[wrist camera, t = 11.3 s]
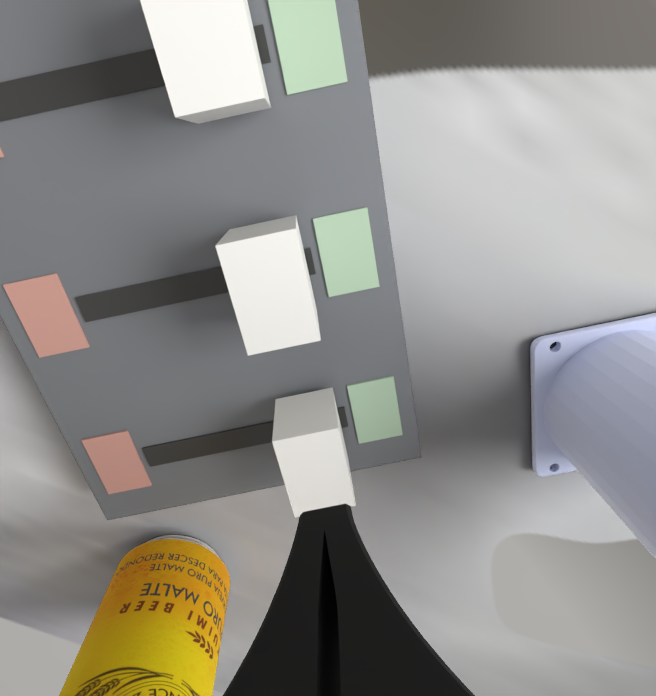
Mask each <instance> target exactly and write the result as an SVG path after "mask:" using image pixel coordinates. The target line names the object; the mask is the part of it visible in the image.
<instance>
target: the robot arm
mask: <svg viewBox="0 0 656 696" xmlns="http://www.w3.org/2000/svg"><path fill="white" fill-rule="evenodd" d="M554 342H557V343H556V346H555V347H554V348H552V349H550V345H551V344H552V343H554ZM530 357H531V418H532V468H533V471H534V472H535V473H536V474H537V475H538V476H540V477H545V476H550V475H555V474H560V473H565V472H570V471H575V470H578V471H579V472H580V473H581V475H582V476H583V477H584V478H585V479H586V480H587V481H588V483H589V484H590V485H591V486H592V487H593V488H594V489H595V491H596V492H597V493H598V494H599V495H600V496H601V497H602V498H603V500H604V501H605V502H606V503H607V504H608V505H609V506H610V508H611V509H612V510H613V511H614V512H615V513H616V514H617V515H618V517H619V518H620V519H621V520H622V521H623V522H624V523H625V525H626V526H627V527H628V528H629V529H630V530H631V531H632V533H633V534H634V535H635V536H636V537H637V538H638V539H639V540H640V542H641V543H642V544H643V545H644V546H645V547H646V548H647V549H648V551H649V552H650V553H651V554H652V555H653V556H654V558H655V559H656V313H652V314H647V315H643V316H638V317H633V318H628V319H623V320H618V321H613V322H608V323H604V324H599V325H594V326H589V327H584V328H579V329H574V330H569V331H565V332H560V333H555V334H550V335H545V336H541V337H538V338H536V339H535V340H534V341H533V342H532V344H531V348H530ZM553 464H555V465H554V466H552V467H550V466H551V465H553ZM223 696H475V695H474V694H473V693H472V692H471V691H470V690H469V689H468V688H467V687H466V686H465V685H464V684H463V683H462V682H461V680H460V679H459V678H458V677H457V676H456V675H455V674H454V673H453V672H452V671H451V670H450V668H449V667H448V666H447V665H446V664H445V662H444V661H443V660H442V659H441V658H440V657H439V655H438V654H437V653H436V652H435V651H434V649H433V648H432V647H431V646H430V645H429V644H428V642H427V641H426V640H425V639H424V638H423V636H422V635H421V634H420V632H419V631H418V630H417V628H416V627H415V626H414V624H413V623H412V622H411V620H410V619H409V618H408V616H407V615H406V614H405V612H404V611H403V609H402V608H401V607H400V605H399V604H398V602H397V601H396V599H395V598H394V596H393V595H392V593H391V592H390V590H389V588H388V587H387V585H386V584H385V582H384V580H383V579H382V577H381V576H380V574H379V572H378V570H377V569H376V567H375V565H374V563H373V561H372V560H371V558H370V556H369V554H368V552H367V550H366V548H365V546H364V544H363V542H362V540H361V538H360V535H359V533H358V531H357V528H356V526H355V523H354V520H353V516H352V511H351V507H350V506H349V505H347V504H341V505H336V506H331V507H326V508H321V509H316V510H311V511H306V512H303V513H302V514H301V515H300V518H299V523H298V527H297V531H296V535H295V538H294V542H293V545H292V549H291V552H290V555H289V558H288V561H287V564H286V567H285V569H284V572H283V575H282V578H281V581H280V583H279V586H278V588H277V591H276V593H275V595H274V598H273V600H272V603H271V605H270V607H269V610H268V612H267V614H266V617H265V619H264V621H263V623H262V625H261V627H260V629H259V632H258V634H257V636H256V638H255V640H254V641H253V643H252V645H251V647H250V649H249V651H248V653H247V655H246V657H245V658H244V660H243V662H242V664H241V666H240V667H239V669H238V671H237V673H236V675H235V676H234V678H233V680H232V681H231V683H230V685H229V687H228V688H227V690H226V691H225V693H224V695H223Z"/></svg>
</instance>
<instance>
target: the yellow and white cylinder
mask: <svg viewBox="0 0 656 696" xmlns="http://www.w3.org/2000/svg"><path fill="white" fill-rule="evenodd" d="M229 589H230V576H229V573H228V570H227V568H226V566H225V564H224V563H223V562H222V560H221V559H220V558H219V556H218V555H217V553H216V552H215V551H214V550H213V549H212V548H211V547H210V546H208V545H207V544H205V543H204V542H202V541H200V540H198V539H195V538H192V537H189V536H183V535H165V536H160V537H157V538H154V539H151V540H149V541H147V542H146V543H143V544H141V545H139V546H137V547H135V548H133V549H132V550H131V551H129V552H128V553H127V554H126V555H125V556H124V557H123V558H122V559H121V561H120V563H119V564H118V567H117V569H116V571H115V573H114V575H113V578H112V580H111V582H110V584H109V586H108V589H107V591H106V593H105V595H104V598H103V600H102V602H101V604H100V606H99V609H98V611H97V613H96V615H95V617H94V620H93V622H92V624H91V626H90V628H89V631H88V633H87V635H86V637H85V639H84V642H83V644H82V646H81V648H80V651H79V653H78V655H77V657H76V659H75V662H74V664H73V666H72V668H71V671H70V673H69V675H68V677H67V679H66V682H65V684H64V686H63V688H62V691H61V693H60V695H59V696H212V693H213V687H214V681H215V675H216V669H217V662H218V656H219V650H220V644H221V638H222V632H223V626H224V619H225V613H226V607H227V601H228V595H229Z"/></svg>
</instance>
